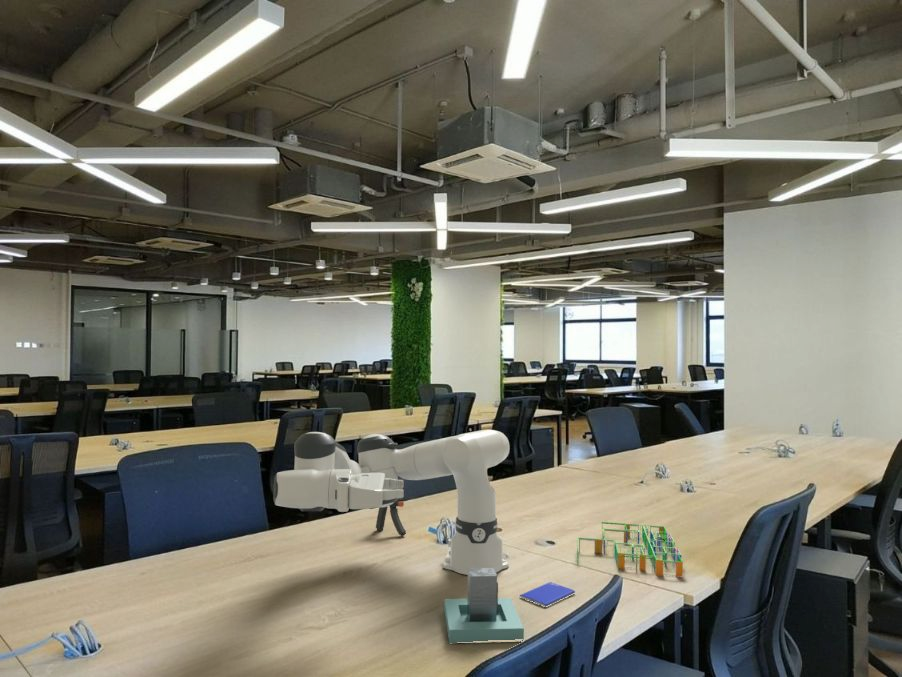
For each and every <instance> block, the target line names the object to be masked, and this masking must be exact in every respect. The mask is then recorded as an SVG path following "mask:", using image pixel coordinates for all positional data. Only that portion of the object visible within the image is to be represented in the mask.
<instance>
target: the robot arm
mask: <svg viewBox="0 0 902 677" xmlns="http://www.w3.org/2000/svg"><path fill="white" fill-rule="evenodd" d="M293 444H294V445H293V447H294V467H293V468H294V469H291V470H283V471H279V472H277V473H276V474H275V475H274V479H273V481H274V483H273V495H272V496H273V498H272V500H273V502H274V505H275V506H278V507H284V508H289V509H299V510H300V511H301V512H322V511H323V510H325V508H326V509H335V510H337V511H338V513H339V512H341V513H344V512H346V513H347V512H348V511H349V509H350V510H364V509H365V510H367V509H368V510H369V509H376V508H379V507H390V506H389V505H391V504H393V503H394V502H398V500H399V499H403V498H404V495H405V494H404V492H405V491H404V489H403V488H404V486H405V481H404V480H410V481H422V480H423V481H424V480H429V479H436V478H440V477H441V478H442V477H447V476H448V477H449V476H452V475H453V479H454V481H455V482H454V483H455V486H456V492H457V493H456V494H457V495H456V496H457V498H456V499H457V503H456V504H457V515H456V518H455V523H454V524H455V533H454V534H453V535H452V538H448V540H447V547H448V551H447V554H446V556H445V559H444V560H443V565H442V568H443V569H446V570H450V571H454V572H456V573H458V574H462V575H466V576H468V568H494V570H495V572H496V574H497V573H499V572H500V571H501V570H504V569H507V568H509V562H507V560H505V559H504V558H503V557H504V556H503V538H502V537H501V536H500V535H499V534H498V533H497V531H498V518H497V516H496V513H497V512H496V511H497V510H496V509H497V491H496V490H495V488H494V487H493V486H492V485H491V483H490V481H489V477H488V476H489V475H488V469H490V468H492V467H495V466H498V465H499V464H501V463H502V462H503V461H504V460H506V459H507V457H509V454H510V449H511V448H510V447H511V446H510V442H509V439H508V437H507V436H506V435H505V434H504V432H501V431H499V430H495V429H481V430H476V431H471V432H465V433H460V434H458V435H454V436H448V437H444V438H439V439H433V440H430V441H425V442H420V443H417V444H413V445H410V446H407V447H405V448H402V449H397V448H396V447H395V446H398V442H394V441H393V440H392V439H391V438H390V437H389V436H387V435H385V434H379V433H372V434H369V435H366V436H364V437H363V438H362V439H360V440H359V441H358V442H357V446H356V447H357V448H356V451H357V452H356V453H357V455H358V462H356V461H355V460H353V459H351V458H350V457H349V455H348V453H347V450H346V448H345V447H344V446H343V445H342V444H340V443H339V442H337V441H336V439H334V438H333V436H332V435H330V434H327V433H326V432H320V431H310V432H306V433H303V434H301V435H300V436H299V437H298V438H297V439H296V441H295V442H294V443H293ZM398 477H399V478H401V479H399V478H398Z"/></svg>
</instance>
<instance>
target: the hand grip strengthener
mask: <svg viewBox="0 0 902 677" xmlns="http://www.w3.org/2000/svg"><path fill="white" fill-rule="evenodd" d="M404 505H405V503H404V501H396V502H394V503H393V504H391V505H389V506H387V507H378V508H379V509H378V513H377V518H376V522H375V523H376V524H375V528H376V531H377V532H383V531H384V528H385V521H386V516H387V511H388V508H389V513H390V518H391V520H392V523H393V526H394V527H395V530H396V531H397V533H398V535H400V537H403V536H405V535H406V534H407V533H406V531H407V530H406V529H405V528H404V526H403V523H402V521H401V519H400V516H399V511H398V508H397V507H400V508H403V507H404Z"/></svg>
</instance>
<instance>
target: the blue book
mask: <svg viewBox="0 0 902 677" xmlns="http://www.w3.org/2000/svg"><path fill="white" fill-rule="evenodd" d="M573 593H575V594H576V591H575V590H574V589H572V588H570V587H566V586H563V585H560V584H557V583H554V582H552V581H549V582H547V583H544V584H542V585H540V586H538V587H535V588H533V589H531V590H529V591H527V592H524V593H521V594H520V595H519V598H520V597H521V598H523V599H526V600H529V601H533V602H535V603H537V604H539V605H543V606H545V607H546V606H548V605H550V604H553V603H555V602H557V601H559V600H560V599H563V598H565V597H567V596H569V595H571V594H573ZM521 598H520V599H521ZM523 599H522V600H523ZM526 600H525V601H526ZM529 601H528V602H529ZM539 605H538V606H539Z"/></svg>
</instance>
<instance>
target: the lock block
mask: <svg viewBox="0 0 902 677" xmlns="http://www.w3.org/2000/svg"><path fill="white" fill-rule="evenodd" d="M498 593H499V583H498V574H497V573H496V572H495V570H494V568H468V575H467V596H466V597H467V598H466V599H467V617H468V622H496V617H497V615H498V598H499V594H498Z"/></svg>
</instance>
